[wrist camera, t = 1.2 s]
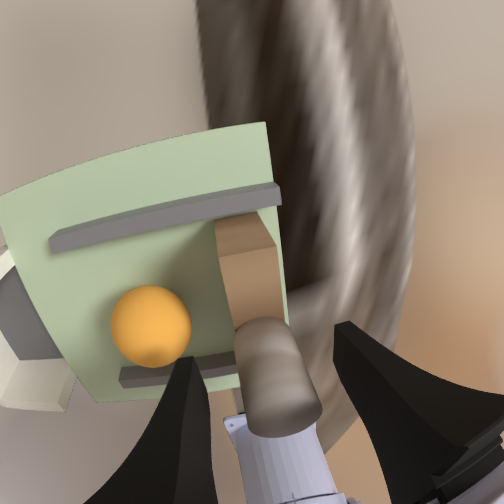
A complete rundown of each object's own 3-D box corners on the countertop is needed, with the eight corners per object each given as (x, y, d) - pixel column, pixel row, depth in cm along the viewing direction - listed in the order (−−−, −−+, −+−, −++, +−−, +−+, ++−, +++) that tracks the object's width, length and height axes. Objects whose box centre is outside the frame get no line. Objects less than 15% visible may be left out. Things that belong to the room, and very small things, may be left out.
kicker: (277, 340, 17) (318, 456, 10) (238, 348, 17) (262, 469, 10) (260, 210, 14) (325, 315, 6) (209, 220, 13) (220, 338, 6)
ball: (200, 325, 16) (202, 378, 13) (134, 336, 16) (123, 387, 12) (181, 263, 14) (176, 311, 11) (109, 278, 14) (87, 325, 11)
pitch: (288, 363, 20) (306, 411, 16) (37, 391, 19) (23, 429, 14) (260, 121, 13) (284, 122, 9) (-53, 223, 12) (-92, 250, 8)
